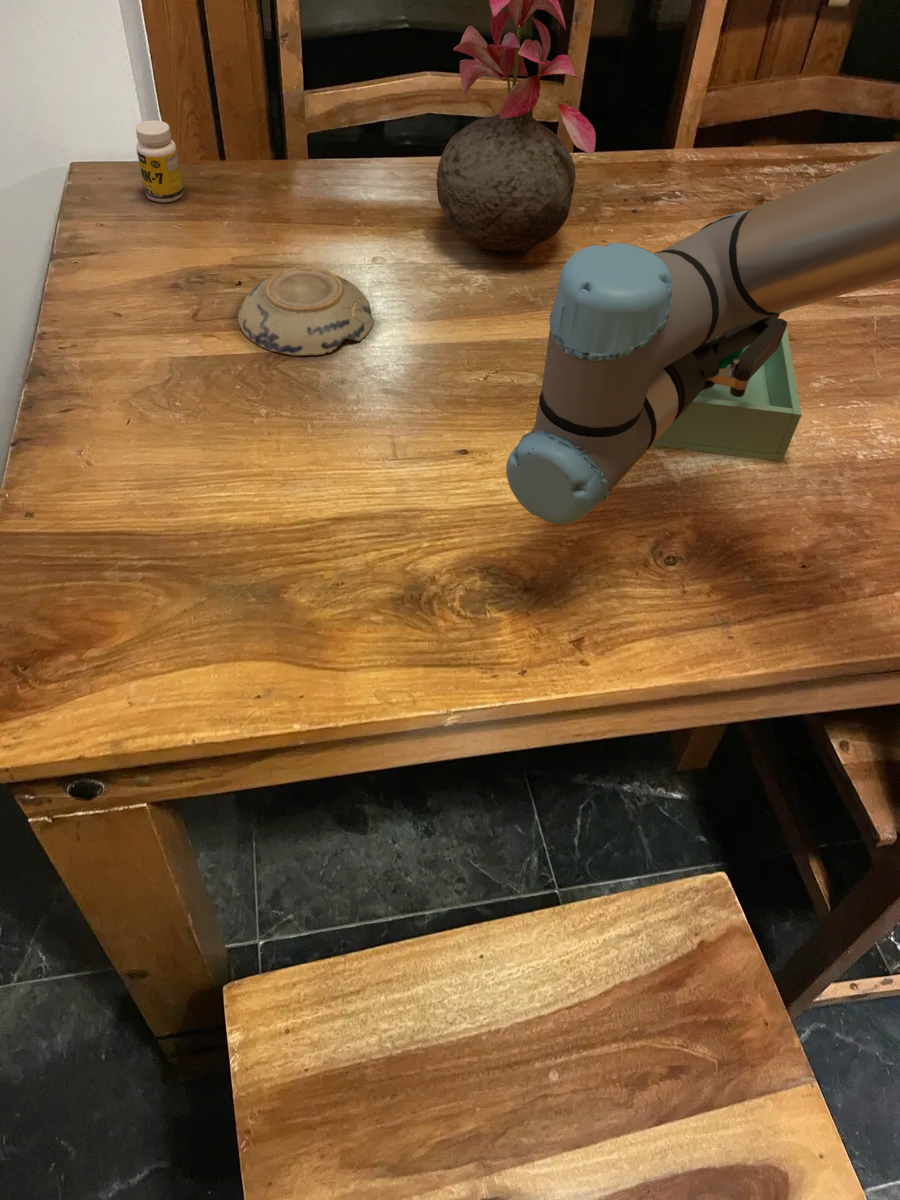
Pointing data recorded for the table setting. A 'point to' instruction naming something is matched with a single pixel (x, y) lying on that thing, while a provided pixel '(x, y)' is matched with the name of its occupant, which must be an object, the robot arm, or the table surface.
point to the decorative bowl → (304, 312)
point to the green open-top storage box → (743, 414)
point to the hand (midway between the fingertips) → (754, 276)
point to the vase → (511, 143)
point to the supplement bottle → (158, 161)
